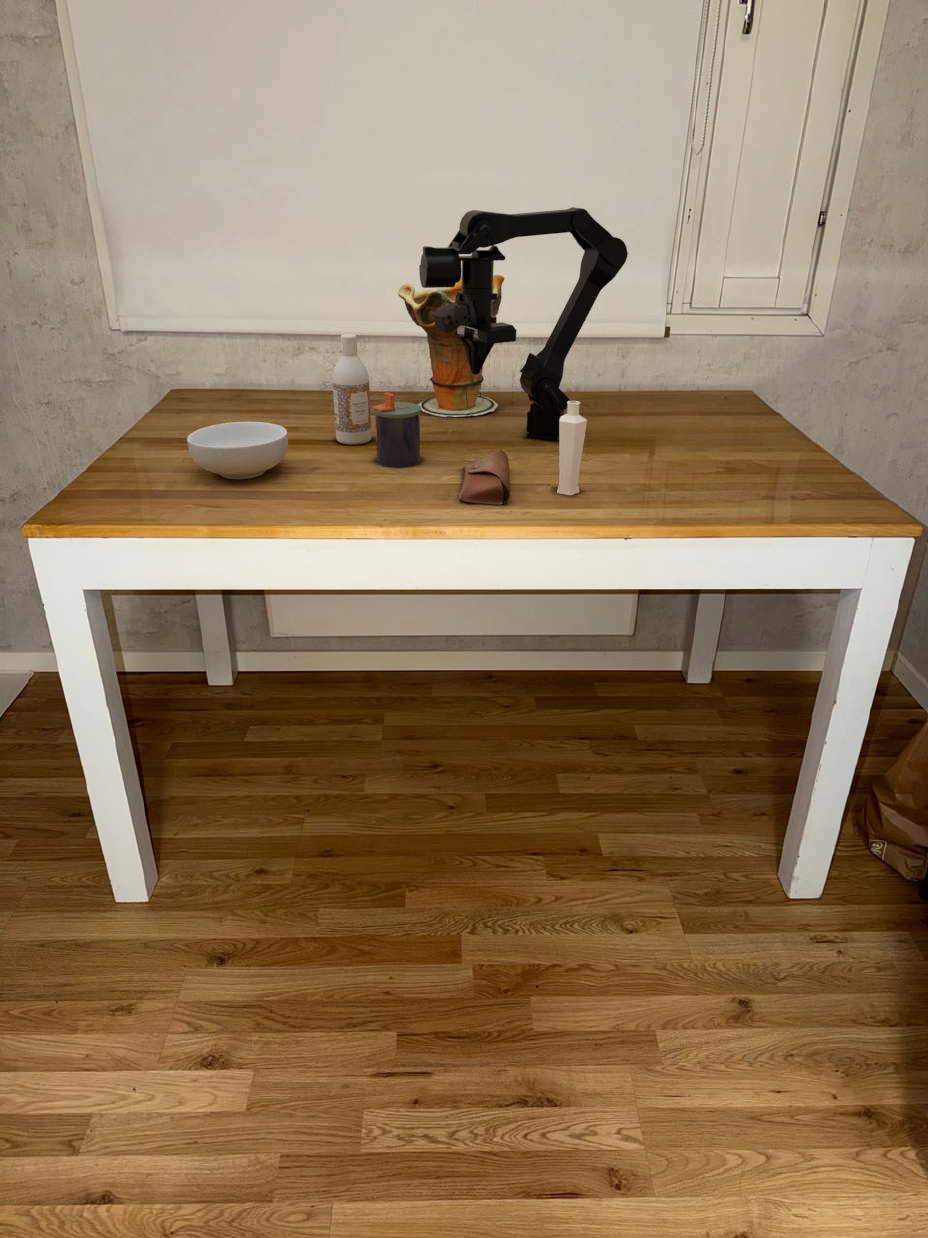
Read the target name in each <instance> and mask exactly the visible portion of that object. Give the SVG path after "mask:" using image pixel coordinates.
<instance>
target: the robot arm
mask: <svg viewBox="0 0 928 1238" xmlns="http://www.w3.org/2000/svg"><path fill="white" fill-rule="evenodd" d="M565 233H567V234H568V233H570V234H571V235H572V237H573V239H574V240H575V242H576V243H577V245H578V246H579V247H580V248H581V249H582V250H583V251H584V252H583V255H582V257H581V261H580V269H579V276H578V280H577V282H576V284H575V285H574V288H573V290H572V292H571V293H570V295H569V298H568V300H567V301H566V303H565V306H564V307H563V309H562V312H561V314H560V315H559V318H558V319H557V322H556V323H555V324H554V327H553V329H552V331H551V333H550V335H549V337H548V339H547V341H546V343H545V345H544V347H543V348H542V349H541V351H539V352H538V353H537V354H536V355H535V354H534V353H532V352H529V353H528V355H527V358H526V361H525V363H524V365H523V367H522V368H520V370H519V372H520V373H521V374H520V376H519V383H520V387H521V389H522V391H523V392H524V393H526V394H527V397H528V400H529V401H530V402H532V403H531V404H530V405H529V410H528V411H527V413H526V433H527V434H526V435H525V438H528V439H536V440H545V441H553V442H556V441H558V440H559V420H560V417H561V416H563V415H565V410H567V409H568V404H567V402H568V401H570V398H569V397H568V396H567V395H566V394H565V393H564V391H562V390H561V388H560V385H561V383H562V380H563V377H564V376H563V375H564V370H565V369H564V368H565V367H564V366H565V361H566V358H567V356H568V354H569V352H570V351H571V348H572V347H573V345H574V343H575V341H576V339H577V337H578V335H579V333H580V331H581V330H582V328H583V325H584V323H585V322H586V320H587V317H588V316H589V314H590V312H591V310H592V308H593V306H594V304H595V303H596V300H597V298H598V297H599V295H600V292H601V291H602V290H603V289H604V288H605V287H606V286H607V285H608V284H609V283H610V282H612V280H614V279H615V278H616V276H617V275H618V274H619V272H620V270H621V269H622V268H623V266H624V265H625V264H626V261H627V259H628V255H629V252H628V249H627V248H628V247H627V245H626V243H625V242H624V241H623V239H622V238H619V237H617V236H613V235H612V233H610V232H609V231H608V230H607V229H606V228H605V227H604V226H603V225H601V224H600V223H599V222H598V221H597V220H596V219H594V217H593V216H592V215H591V214H590V212H589V211H588V210H587V209H585V208H581V207H573V206H572V207H569V208H565V209H555V210H545V211H543V210H542V211H533V212H532V211H531V212H521V213H502V212H494V211H486V210H480V209H479V210H478V209H472V210H469V211H466V212H465V213H464V215H463V216H462V217H461V219H460V221H459V230H458V231H457V233H456V234H455V236H454V237H453V238H452V240H451V241H450V243H449V245H448V246H447V247H433V246H428V245H427V246H423V247H422V254H421V258H420V264H419V265H418V266H419V267H418V271H419V274H418V275H419V281H420V285H421V287H422V288H423V289H440V288H447V287H454V286H455V284H456V283H459V281H460V279H461V275H462V292H457V294H456V300H455V302H453V303H451V304H448V305H446V306H444V307H442V308H440V309H438V310H436V311H434V312H433V313H432V316H433V319H434V322H435V325H436V329H437V330H438V331H439V330H441V331H443V332H444V333H450V332H453V331H454V330H455V329H456V328H458V330H457V334H454V336H455V337H456V338H458V339H459V340H460V341H461V342H462V343H463V345H464V347H465V350H466V354H467V357H468V361H469V365H470V368H471V372H472V374H479V372H480V370H481V368H482V366H483V367H484V364H485V362H486V360H487V358H488V356H489V354H490V352H491V350H492V349H493V347H494V345H495V344H502V343H513V342H516V341H517V331H518V330H517V329H516V327H515V326H514V325H513V324H511V323H510V324H509V323H506V322H502V321H501V322H497V321H498V320H497V319H498V318H497V316H496V317H494V316H492V303H493V300H496V299H497V293H493V275H494V267H495V266H494V265H495V261H505V260H506V255H504V254H503V253H502V252H501V251H500V249H499V247H498V246H497V245H498V244H502V243H504V242H507V241H509V240H513V239H516V238H523V237H533V236H544V235H555V234H565ZM489 247H490V248H489ZM479 248H481V249H479ZM484 248H485V249H484ZM486 248H488V249H486Z"/></svg>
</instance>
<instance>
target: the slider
mask: <svg viewBox="0 0 928 1238" xmlns="http://www.w3.org/2000/svg"><path fill="white" fill-rule="evenodd" d="M383 394H384V403H385V405H380V406H376V405H374V406H373V407H372V410H373V409H375V410H377V411H379V412H384V411H391V410H395V408H394V407H395V403H394V402H395V395H394V394H393V393H390V392H389V391H388V392H384V393H383Z"/></svg>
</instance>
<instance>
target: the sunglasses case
mask: <svg viewBox="0 0 928 1238" xmlns="http://www.w3.org/2000/svg"><path fill="white" fill-rule="evenodd" d="M462 470H463V479H462V487H461V489H460V492H459V496H458V500H460V501H462V502H465V503H470V504H476V505H477V504H478V505H491V506H492V505H494V506H499V505H500V506H502V505H504V504H506V503H507V502H508V501H509V500H510V496H511V495H510V493H511V481H510V462H509V458H508V455H507V453H506V452H505V451H504V450H503V449H501V448H500V449H497V450H495V451H492V452H490V453H489V454H487V455H486V456H484V457H482V458H481V459H479V460H476V461H473V462H471V463H467V464H466V465H464V466H463V468H462Z"/></svg>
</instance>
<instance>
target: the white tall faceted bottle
mask: <svg viewBox="0 0 928 1238" xmlns="http://www.w3.org/2000/svg"><path fill="white" fill-rule="evenodd" d="M567 404H568V405H567V409H566V410H567V411H566V413H564V415H563V416H561V417H560V420H559V439H558V440H559V441H558V443H559V445H558V447H559V449H558V450H559V453H558V455H559V456H558V457H559V460H558V462H559V466H558V469H559V470H558V471H559V472H558V473H559V479H558V480H559V481H558V482H559V483H558V486H557V490H556V493H557V494H559V495H566V496H573V495H576V494H578V493H580V488H579V487H580V486H579V477H580V470H581V464H582V458H583V451H584V444H585V437H586V431H587V424H588V419H586V418H585V417H584V416H582V415H580V405H581V401H577V400H569V401H568V402H567Z"/></svg>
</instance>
